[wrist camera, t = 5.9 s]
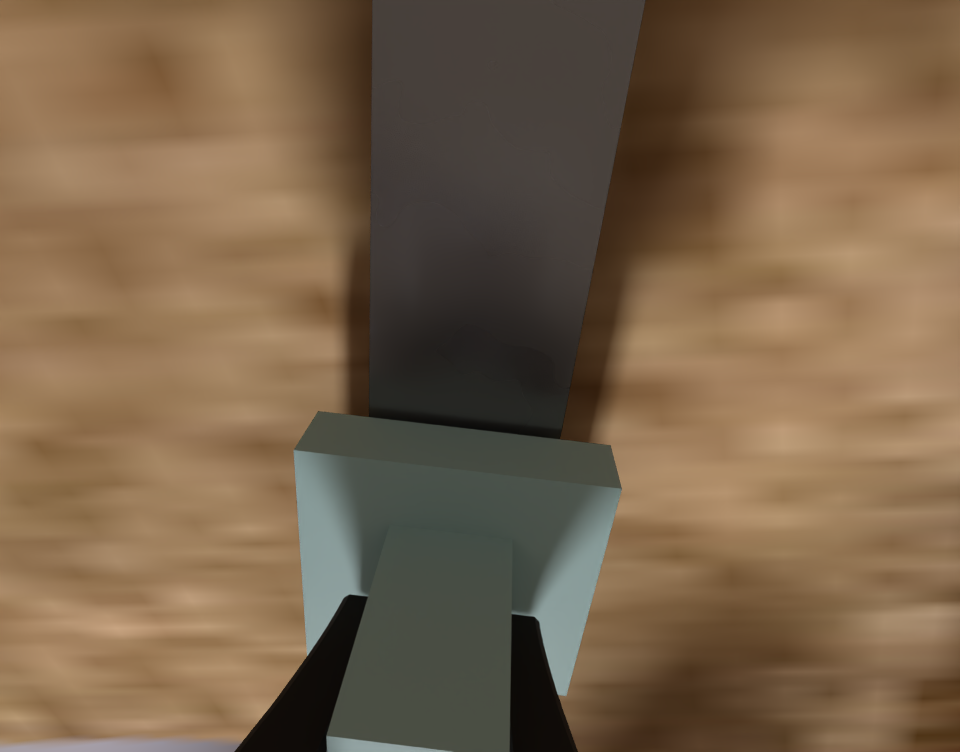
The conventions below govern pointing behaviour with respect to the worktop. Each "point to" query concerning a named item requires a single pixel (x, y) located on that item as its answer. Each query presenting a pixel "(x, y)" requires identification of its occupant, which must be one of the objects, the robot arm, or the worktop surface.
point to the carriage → (445, 569)
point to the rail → (489, 201)
